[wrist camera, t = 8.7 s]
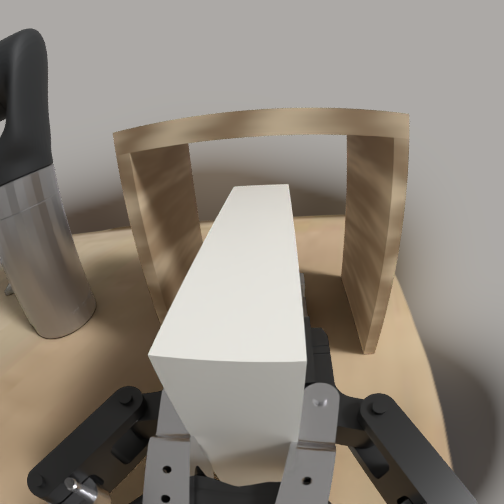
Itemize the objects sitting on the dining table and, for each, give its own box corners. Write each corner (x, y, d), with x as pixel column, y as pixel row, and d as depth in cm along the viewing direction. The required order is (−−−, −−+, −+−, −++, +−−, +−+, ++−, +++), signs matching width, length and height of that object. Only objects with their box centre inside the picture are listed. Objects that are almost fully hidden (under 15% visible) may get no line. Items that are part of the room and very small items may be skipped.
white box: (230, 494, 11) (147, 354, 5) (251, 343, 21) (233, 186, 16) (288, 497, 10) (306, 361, 5) (290, 343, 21) (288, 184, 15)
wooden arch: (171, 355, 23) (112, 132, 15) (201, 280, 34) (175, 121, 25) (374, 353, 21) (409, 114, 13) (349, 277, 32) (355, 111, 23)
